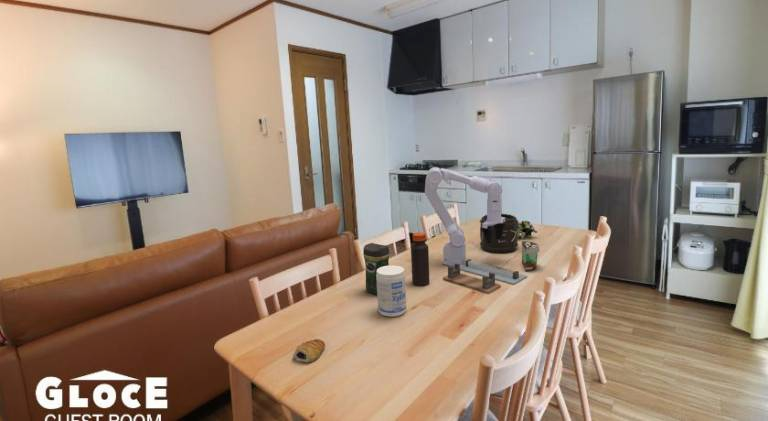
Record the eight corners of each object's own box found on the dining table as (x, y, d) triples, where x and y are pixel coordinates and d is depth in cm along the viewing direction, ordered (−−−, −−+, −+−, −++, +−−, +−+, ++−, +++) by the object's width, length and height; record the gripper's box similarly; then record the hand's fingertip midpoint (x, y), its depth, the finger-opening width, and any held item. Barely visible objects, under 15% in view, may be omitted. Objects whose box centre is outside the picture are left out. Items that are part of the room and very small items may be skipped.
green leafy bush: (526, 246, 208) (540, 229, 204) (521, 248, 199) (537, 230, 195) (509, 232, 213) (523, 215, 209) (504, 234, 203) (518, 216, 199)
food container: (541, 272, 157) (542, 249, 155) (525, 272, 158) (526, 249, 156) (536, 262, 168) (536, 240, 166) (521, 262, 170) (521, 240, 168)
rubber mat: (457, 269, 166) (457, 268, 165) (471, 263, 172) (471, 261, 172) (513, 284, 147) (513, 283, 146) (527, 277, 153) (527, 275, 153)
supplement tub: (398, 320, 125) (396, 276, 122) (373, 314, 129) (370, 273, 126) (411, 307, 133) (409, 266, 130) (387, 302, 138) (384, 263, 135)
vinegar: (409, 285, 152) (407, 235, 148) (416, 278, 158) (414, 231, 154) (425, 287, 149) (423, 237, 145) (432, 281, 155) (430, 232, 151)
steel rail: (465, 266, 167) (465, 260, 166) (469, 264, 168) (469, 259, 168) (515, 279, 150) (515, 273, 149) (518, 277, 152) (518, 271, 151)
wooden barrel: (478, 253, 184) (478, 221, 181) (480, 242, 201) (480, 213, 198) (518, 255, 179) (519, 222, 176) (517, 243, 196) (518, 213, 192)
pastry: (312, 343, 114) (311, 331, 114) (331, 348, 111) (330, 335, 111) (291, 360, 106) (290, 347, 106) (311, 366, 103) (309, 353, 102)
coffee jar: (395, 290, 148) (392, 243, 144) (381, 297, 142) (378, 249, 138) (376, 284, 154) (373, 239, 150) (362, 291, 148) (359, 245, 145)
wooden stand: (442, 279, 155) (442, 266, 154) (455, 274, 160) (455, 261, 159) (488, 294, 140) (488, 279, 139) (500, 287, 145) (500, 273, 144)
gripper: (492, 214, 157) (492, 246, 160) (511, 208, 166) (511, 238, 169) (477, 212, 162) (478, 243, 165) (497, 206, 171) (496, 236, 174)
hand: (493, 241), depth 167 cm, fingers open, 7 cm apart
